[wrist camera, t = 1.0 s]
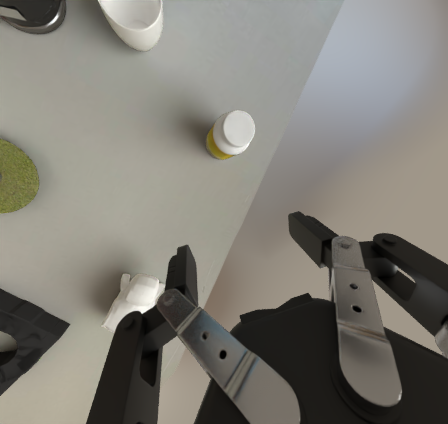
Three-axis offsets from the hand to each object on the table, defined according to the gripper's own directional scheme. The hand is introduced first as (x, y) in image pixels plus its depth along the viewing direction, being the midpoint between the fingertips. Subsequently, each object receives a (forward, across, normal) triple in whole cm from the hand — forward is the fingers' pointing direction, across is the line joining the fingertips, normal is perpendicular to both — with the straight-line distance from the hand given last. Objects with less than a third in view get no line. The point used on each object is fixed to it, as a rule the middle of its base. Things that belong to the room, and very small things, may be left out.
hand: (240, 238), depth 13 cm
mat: (+22, +31, -8) cm, 39 cm away
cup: (+29, +4, -23) cm, 37 cm away
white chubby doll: (+17, +21, +19) cm, 33 cm away
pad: (+14, +44, +16) cm, 49 cm away
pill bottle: (+26, -4, -4) cm, 26 cm away
